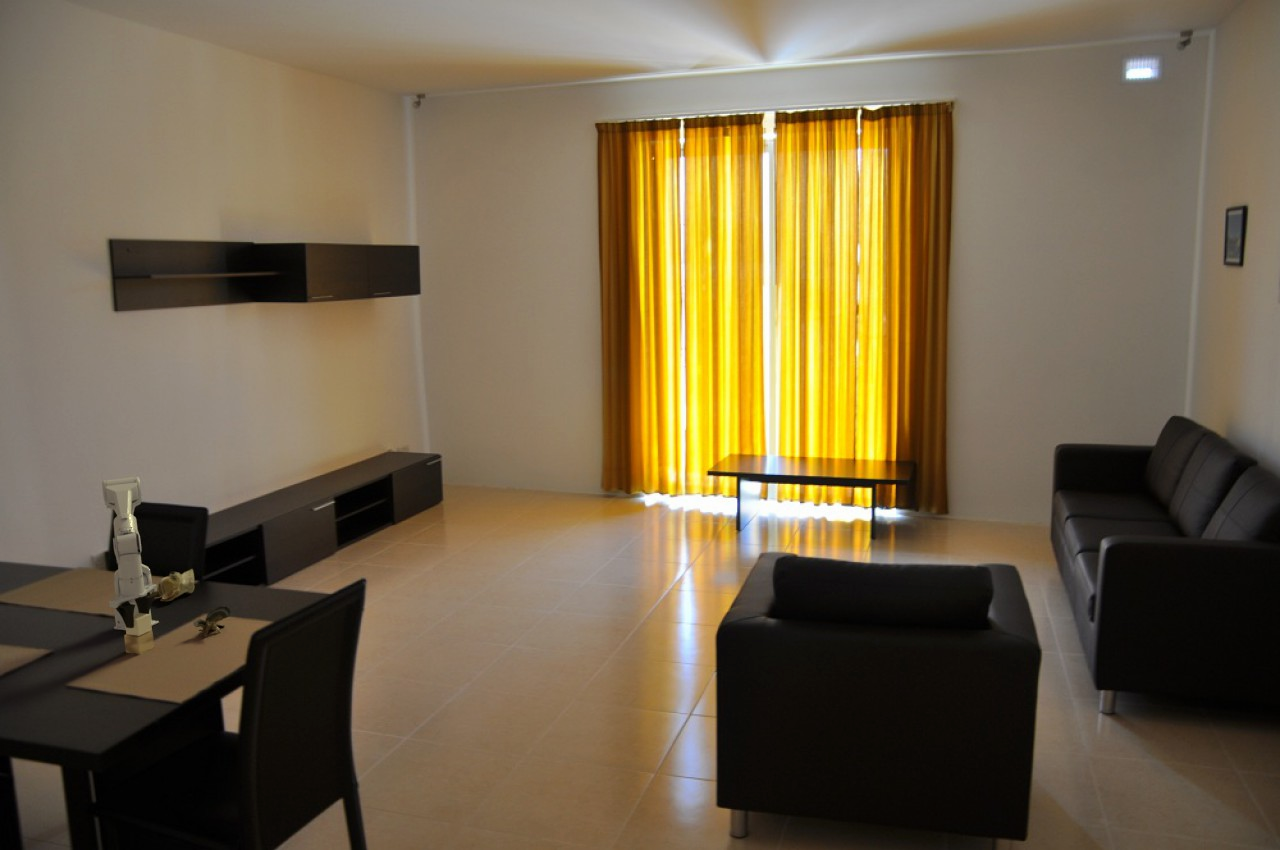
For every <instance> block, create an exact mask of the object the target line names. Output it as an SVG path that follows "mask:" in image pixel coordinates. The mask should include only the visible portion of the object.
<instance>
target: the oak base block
mask: <svg viewBox="0 0 1280 850" xmlns="http://www.w3.org/2000/svg"><path fill="white" fill-rule="evenodd" d="M123 637H124V646H125V652H126V654H133V653H137V654H136V655H142V654H144V653H146V652H148V651H147V650H149V649H151V650H153V649H154V648H155V643H154V642H155V641H154V633H153V630H151V631H148V632H146V633H144V634H142V635H140V636H137V635H130V634H124V635H123ZM153 647H154V648H153ZM152 648H153V649H152ZM145 651H146V652H145ZM149 651H150V650H149ZM143 652H144V653H143ZM141 653H142V654H141Z"/></svg>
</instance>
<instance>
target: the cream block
mask: <svg viewBox="0 0 1280 850" xmlns="http://www.w3.org/2000/svg"><path fill="white" fill-rule="evenodd" d="M151 619H152V616H151V617H150V614H143V613H136V614H134V628H126V630H125V632H126V634H130V635H137V636H140V635H142V634H144V633H146V632H148V631H153V629H152V628H153V626H151ZM125 627H126V625H125ZM126 634H125V635H126Z"/></svg>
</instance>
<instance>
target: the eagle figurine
mask: <svg viewBox="0 0 1280 850" xmlns="http://www.w3.org/2000/svg"><path fill="white" fill-rule="evenodd" d="M231 614H232V610H231V609H230V608H229V607H228V606H224V605H221V606H218V607H216V608H214V609H212V611H209V612H207V614H206V617H205V619H201V618H197V619H195V620H193V621H192V625H193V627H195V628H199V627H200V628H202V629H198V631H199V632H202V633H203V638H204V637H205V636H206V637H207V636H208V634H209V630H212V631H216V632H218V633H220V632H221V633H222V630H221V628H220V627H224V626H223V625H224V624H220V623H218V622H221V621H223V620H224V619H227V618H229V617H230V616H231ZM206 637H205V638H206Z"/></svg>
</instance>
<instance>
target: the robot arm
mask: <svg viewBox="0 0 1280 850" xmlns="http://www.w3.org/2000/svg"><path fill="white" fill-rule="evenodd" d="M140 479H141V478H140V477H138V476H137V475H136V476H132V477H125V478H115V479H107V480H106V479H104V480H103V481H102V482H101V487H102V496H103V501H104V504H105V506H106V509H110V510H114V513H115V514H116V517H115V518H114V519H113V531H114V537H113V539H112V541H113V543H112V544H113V551H114V555H115V557H116V558H115V559H116V564H117V566H118V567H117V568H118V569H117V570H115V572H114V574H113V579H114V580H113V584H114V593H115V597H113V598H112V599H110V600H109V601H108V605H109V608H110V609H113V613H114V620H115V626H114V627H113V629H114V630H119V631H126V628H134V614H136V613H143V614H150V617H151V626H152V627H153V626H154V625H157V624H160V622H159V620H154V619H152V613H151V612H152V611H151V607H152V604H153V602H154V600H155V598H154V595H153V594H152V592H156V591H157V587H158V584H155V583H153V580H152V573H151V569H150V568H149V566H147V565H145V564H143V563H142V556H141V554H142V544H141V543H142V542H141V536H140V533H139V530H138V523H137V518H136V516H134V512H135V508H136V507H137V506H139V505H141V504H142V501H143V500H142V496H143V495H142V488H141V480H140ZM138 550H139V551H140V552H139V551H138ZM125 625H126V627H125Z"/></svg>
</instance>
